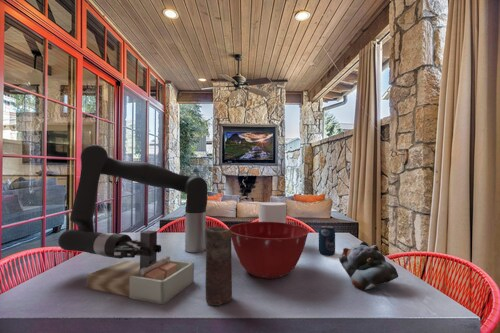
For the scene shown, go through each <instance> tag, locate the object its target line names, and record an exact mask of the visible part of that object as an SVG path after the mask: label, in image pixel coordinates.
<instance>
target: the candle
mask: <svg viewBox="0 0 500 333" xmlns="http://www.w3.org/2000/svg"><path fill="white" fill-rule="evenodd" d="M232 265H233V264H232V238H231V230H229V228H227V227H219V226H218V227H217V226H208V227H207V226H206V250H205V300H206V304H207V305H209V306H219V305H221V304H226V303H228V302H229V301H231V299H232V296H233V278H232V277H233V276H232V275H233V273H232V271H233V270H232V269H233V267H232Z"/></svg>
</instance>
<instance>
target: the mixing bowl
mask: <svg viewBox="0 0 500 333" xmlns="http://www.w3.org/2000/svg"><path fill="white" fill-rule="evenodd" d="M228 229H229V230H231V243H232V245H233V248H234V251H235V254H236V256H237V258H238V260H239V262H240V264H241V266H242V267H243V269H244V270H245V271H247V272H248V273H249V274H250V275H251V276H254V277H256V278H260V279H278V278H282V277H284V276H286V275H287V274H289V273H291V272H292V271H293V270H294V269H295V267H296V266H297V264H298V262H299V261H300V258H301V256H302V254H303V252H304V249H305V245H306V243H307V238H308V235H309V233H310V230H309V229H308V228H306V227H305V226H302V225H298V224H295V223H294V224H293V223H288V222H286V223H280V222H259V221H251V222H250V221H249V222H242V223H238V224H234V225H231V226H230V227H229V228H228Z"/></svg>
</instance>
